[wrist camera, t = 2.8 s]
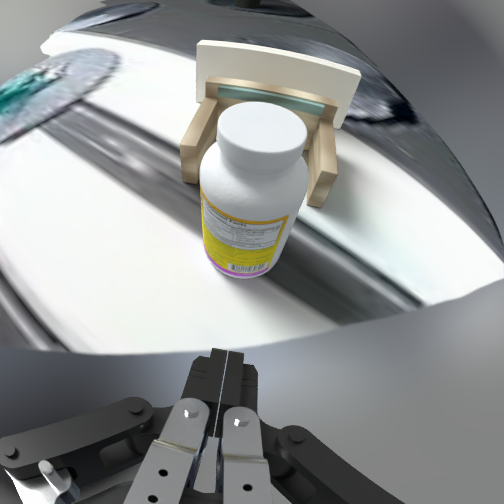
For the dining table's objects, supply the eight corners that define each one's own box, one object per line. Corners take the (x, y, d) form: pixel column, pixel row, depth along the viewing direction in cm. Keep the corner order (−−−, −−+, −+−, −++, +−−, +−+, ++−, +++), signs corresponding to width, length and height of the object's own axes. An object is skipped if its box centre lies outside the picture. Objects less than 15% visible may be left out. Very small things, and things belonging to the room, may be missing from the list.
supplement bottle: (240, 202, 27) (258, 82, 16) (294, 246, 25) (348, 133, 14) (186, 245, 24) (172, 121, 13) (243, 298, 23) (273, 191, 11)
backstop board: (195, 101, 35) (196, 44, 27) (200, 95, 36) (201, 39, 28) (339, 129, 35) (361, 76, 27) (338, 121, 36) (358, 70, 28)
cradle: (182, 181, 27) (178, 126, 21) (207, 124, 32) (209, 75, 26) (320, 208, 28) (345, 158, 22) (319, 145, 33) (337, 100, 27)
